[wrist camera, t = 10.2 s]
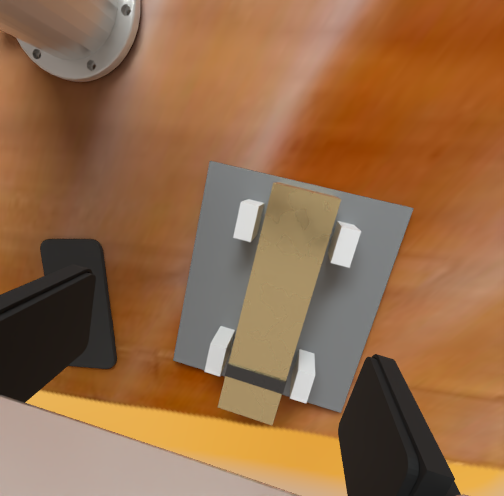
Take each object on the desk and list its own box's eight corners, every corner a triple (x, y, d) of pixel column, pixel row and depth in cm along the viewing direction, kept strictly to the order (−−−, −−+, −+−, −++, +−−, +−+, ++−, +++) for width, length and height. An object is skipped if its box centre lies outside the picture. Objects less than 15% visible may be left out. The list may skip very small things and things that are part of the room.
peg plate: (176, 355, 34) (158, 380, 30) (213, 161, 29) (196, 158, 25) (339, 405, 32) (345, 440, 28) (409, 207, 27) (429, 212, 23)
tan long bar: (278, 181, 28) (272, 182, 23) (335, 195, 27) (342, 199, 22) (230, 373, 32) (216, 408, 27) (277, 388, 32) (272, 426, 27)
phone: (99, 239, 32) (115, 370, 35) (104, 238, 33) (120, 365, 36) (37, 239, 34) (58, 365, 37) (44, 238, 35) (63, 361, 38)
